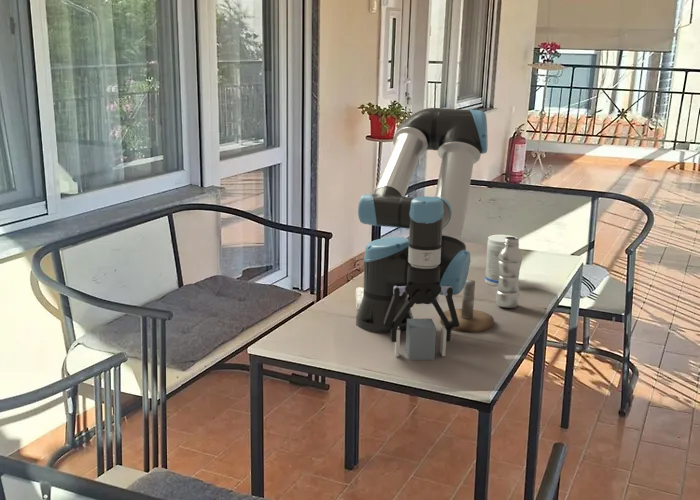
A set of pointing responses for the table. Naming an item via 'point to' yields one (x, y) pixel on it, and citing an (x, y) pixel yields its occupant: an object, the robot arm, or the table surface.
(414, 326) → the light grey rectangular block
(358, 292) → the relief plaque
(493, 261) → the supplement tub
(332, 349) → the table surface
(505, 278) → the plastic bottle
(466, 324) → the peg stand
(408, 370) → the table surface
